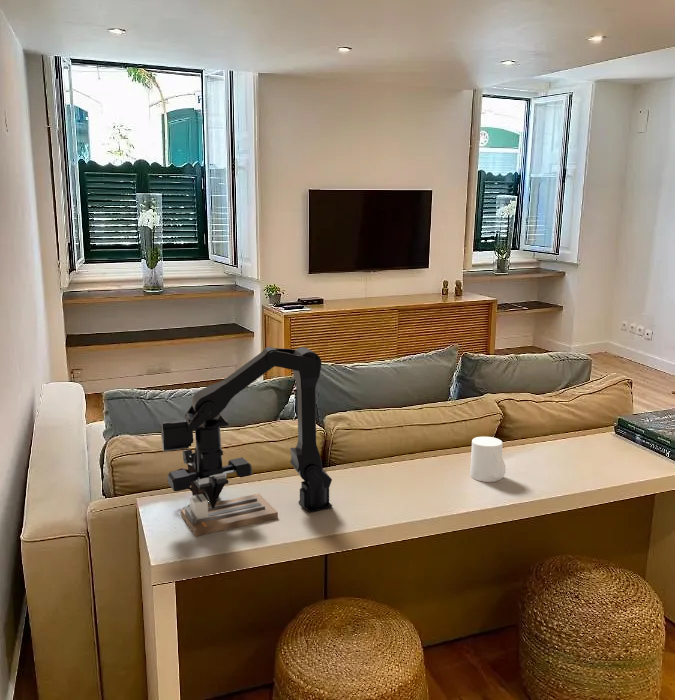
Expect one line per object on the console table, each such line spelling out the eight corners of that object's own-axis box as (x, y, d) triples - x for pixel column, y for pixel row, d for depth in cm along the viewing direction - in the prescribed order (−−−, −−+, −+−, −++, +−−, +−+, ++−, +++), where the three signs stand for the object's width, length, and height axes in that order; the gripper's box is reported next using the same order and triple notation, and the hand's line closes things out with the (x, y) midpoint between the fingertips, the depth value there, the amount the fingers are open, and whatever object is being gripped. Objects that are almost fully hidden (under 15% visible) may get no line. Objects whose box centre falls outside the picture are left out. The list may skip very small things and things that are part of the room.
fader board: (259, 499, 168) (258, 487, 167) (277, 517, 157) (277, 506, 157) (181, 515, 158) (180, 503, 158) (195, 536, 148) (195, 524, 148)
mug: (491, 434, 187) (517, 448, 176) (489, 469, 189) (515, 485, 178) (466, 438, 184) (491, 452, 173) (464, 473, 186) (489, 489, 175)
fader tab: (203, 511, 157) (202, 493, 156) (208, 518, 153) (207, 499, 152) (190, 514, 155) (189, 495, 154) (195, 521, 152) (194, 502, 151)
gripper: (235, 428, 163) (238, 486, 167) (159, 441, 155) (164, 503, 158) (251, 441, 154) (254, 503, 157) (171, 457, 145) (176, 522, 149)
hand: (212, 507), depth 155 cm, fingers closed
